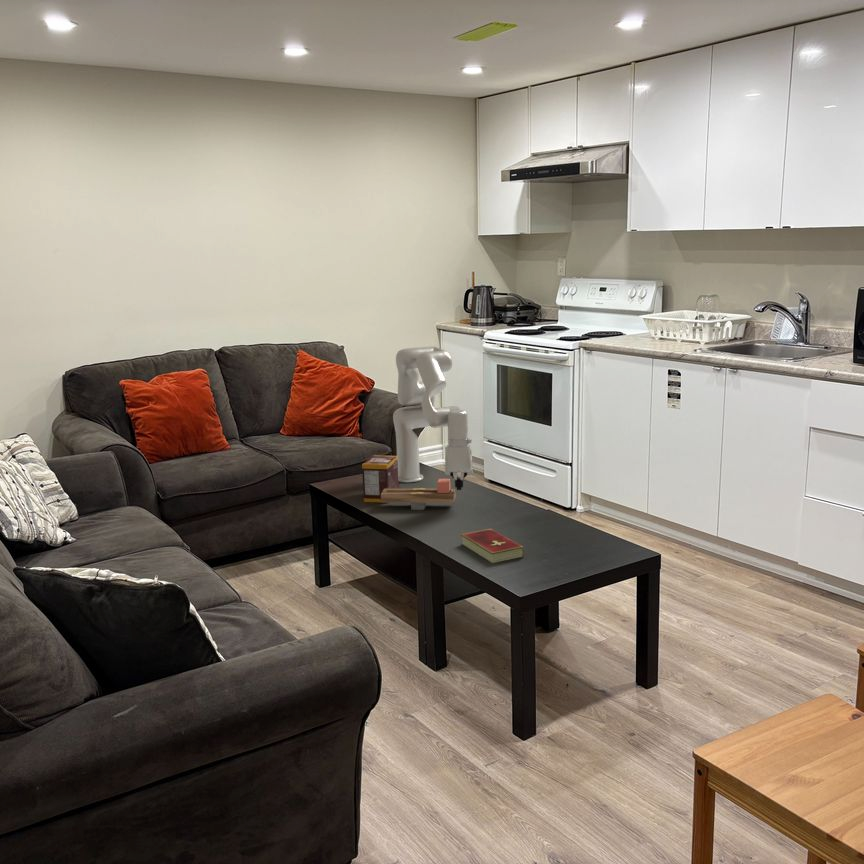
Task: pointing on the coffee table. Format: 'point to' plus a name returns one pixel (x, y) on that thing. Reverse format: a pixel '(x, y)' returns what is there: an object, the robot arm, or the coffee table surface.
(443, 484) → the block
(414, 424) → the robot arm
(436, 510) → the coffee table surface
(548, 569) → the coffee table surface
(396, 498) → the beam
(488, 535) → the hardcover book
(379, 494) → the supplement box
